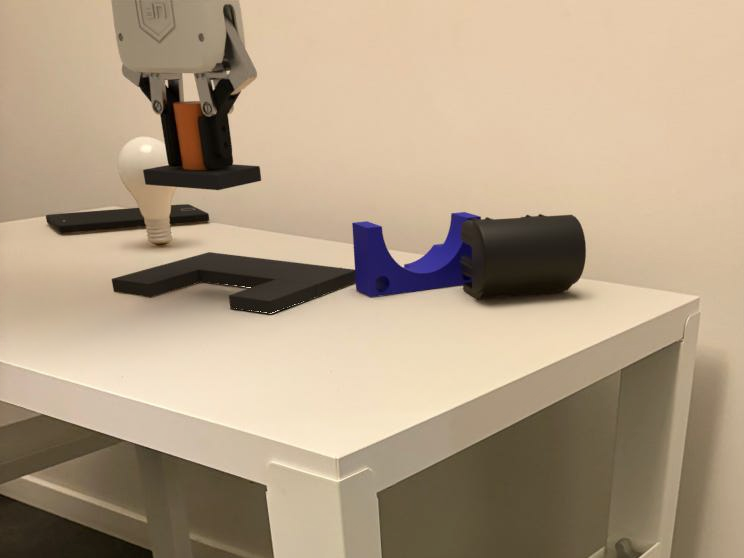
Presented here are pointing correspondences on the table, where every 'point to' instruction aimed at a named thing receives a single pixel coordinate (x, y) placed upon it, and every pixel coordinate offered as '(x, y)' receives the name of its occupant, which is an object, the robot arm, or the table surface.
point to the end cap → (522, 255)
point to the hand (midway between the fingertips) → (200, 163)
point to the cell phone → (119, 219)
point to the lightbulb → (148, 197)
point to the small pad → (202, 177)
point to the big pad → (240, 280)
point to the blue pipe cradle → (428, 272)
